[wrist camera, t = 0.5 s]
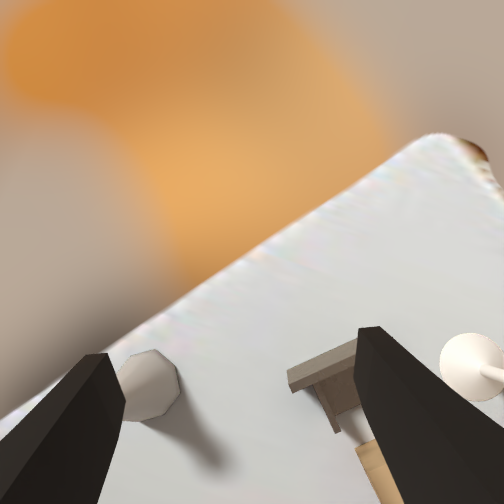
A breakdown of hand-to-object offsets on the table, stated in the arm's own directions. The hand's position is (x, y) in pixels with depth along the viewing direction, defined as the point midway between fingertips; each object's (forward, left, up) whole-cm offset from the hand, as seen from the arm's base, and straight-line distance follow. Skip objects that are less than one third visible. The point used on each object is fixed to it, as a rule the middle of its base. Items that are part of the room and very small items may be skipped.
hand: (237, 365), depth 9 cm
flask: (-1, +15, -26) cm, 30 cm away
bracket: (-9, -5, -26) cm, 28 cm away
